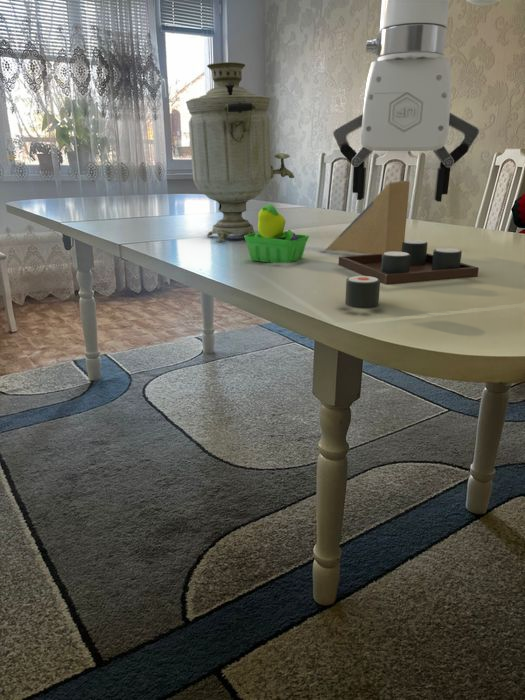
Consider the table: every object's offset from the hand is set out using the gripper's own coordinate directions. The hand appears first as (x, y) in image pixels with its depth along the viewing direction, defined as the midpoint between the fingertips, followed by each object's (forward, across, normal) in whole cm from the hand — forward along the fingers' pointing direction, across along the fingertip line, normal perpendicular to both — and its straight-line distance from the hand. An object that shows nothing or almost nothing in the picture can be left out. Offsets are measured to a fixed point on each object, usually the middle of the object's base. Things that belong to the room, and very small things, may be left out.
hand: (398, 199), depth 69 cm
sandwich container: (+15, -7, +47) cm, 50 cm away
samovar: (+15, -39, +62) cm, 74 cm away
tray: (+15, +2, +26) cm, 30 cm away
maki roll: (+15, -4, +1) cm, 15 cm away
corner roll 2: (+14, +3, +33) cm, 36 cm away
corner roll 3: (+14, +9, +24) cm, 29 cm away
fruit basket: (+15, -24, +32) cm, 43 cm away
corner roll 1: (+14, 0, +19) cm, 24 cm away
